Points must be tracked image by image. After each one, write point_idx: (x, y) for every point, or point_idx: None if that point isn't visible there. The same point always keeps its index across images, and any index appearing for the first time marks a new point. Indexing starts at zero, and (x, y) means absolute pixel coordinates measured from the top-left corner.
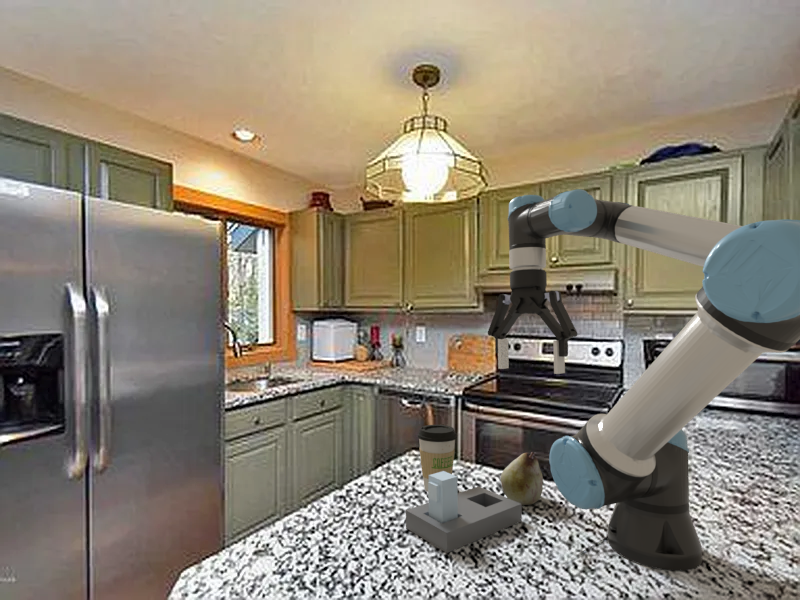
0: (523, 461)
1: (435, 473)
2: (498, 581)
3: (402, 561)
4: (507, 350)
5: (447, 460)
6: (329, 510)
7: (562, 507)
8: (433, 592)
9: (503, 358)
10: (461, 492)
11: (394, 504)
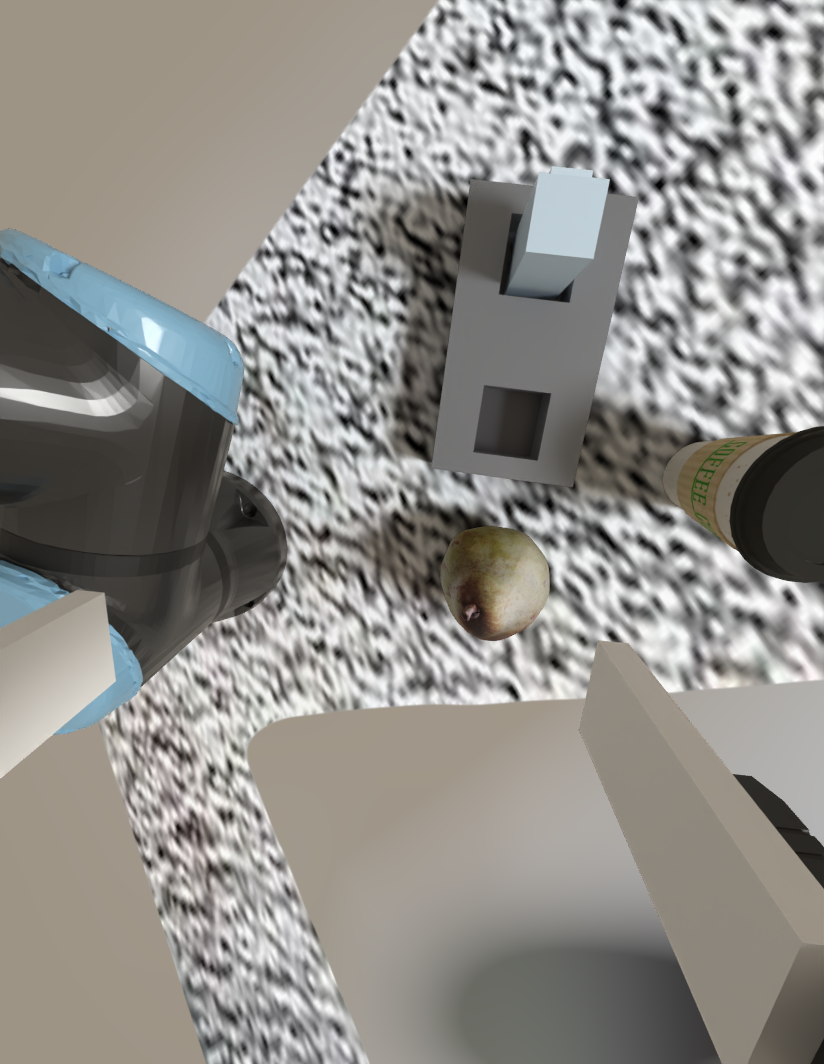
0: (482, 583)
1: (600, 213)
2: (337, 209)
3: (527, 96)
4: (648, 869)
5: (705, 480)
6: None
7: (410, 596)
8: (400, 58)
9: (626, 732)
10: (585, 418)
11: (741, 314)
